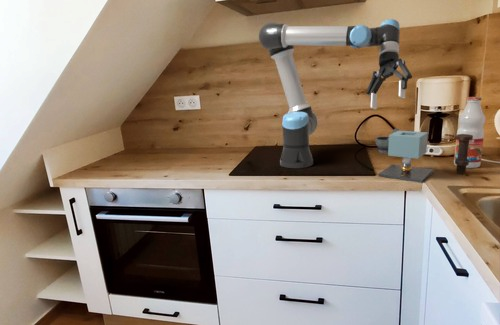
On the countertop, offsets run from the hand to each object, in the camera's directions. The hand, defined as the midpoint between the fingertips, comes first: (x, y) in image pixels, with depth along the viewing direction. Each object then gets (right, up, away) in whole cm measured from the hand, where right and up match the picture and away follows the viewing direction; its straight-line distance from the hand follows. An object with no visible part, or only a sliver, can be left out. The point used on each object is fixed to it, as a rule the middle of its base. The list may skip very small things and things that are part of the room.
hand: (387, 103), depth 136 cm
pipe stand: (+8, -28, +1) cm, 29 cm away
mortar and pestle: (+15, -18, +38) cm, 44 cm away
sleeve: (+8, -20, -1) cm, 21 cm away
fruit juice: (+36, -25, +8) cm, 45 cm away
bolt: (+28, -28, -1) cm, 39 cm away
